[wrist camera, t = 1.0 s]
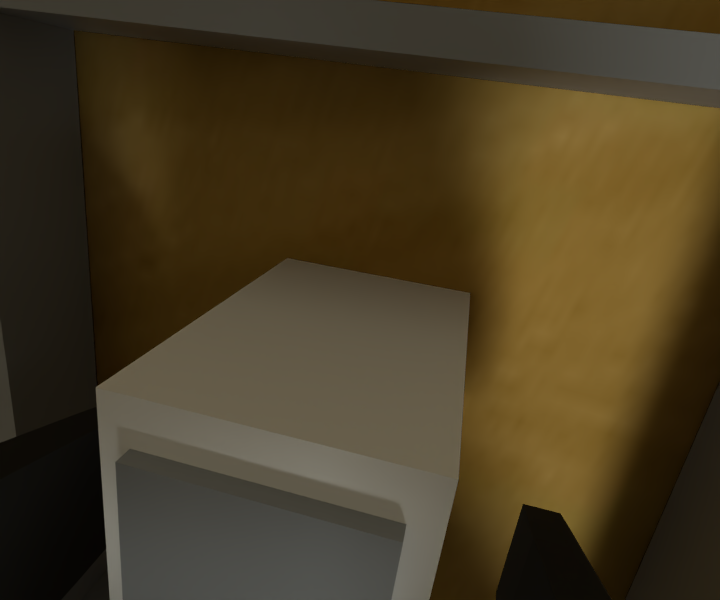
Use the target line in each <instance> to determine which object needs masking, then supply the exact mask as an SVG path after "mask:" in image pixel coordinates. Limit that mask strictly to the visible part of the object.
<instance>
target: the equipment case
mask: <svg viewBox="0 0 720 600" xmlns="http://www.w3.org/2000/svg"><path fill="white" fill-rule="evenodd" d="M74 30H76V31H85V32H93V33H101V34H110V35H118V36H126V37H135V38H143V39H151V40H159V41H168V42H176V43H184V44H193V45H201V46H209V47H218V48H226V49H234V50H242V51H251V52H259V53H267V54H276V55H284V56H292V57H300V58H309V59H317V60H325V61H334V62H342V63H350V64H359V65H367V66H375V67H383V68H392V69H400V70H408V71H417V72H425V73H433V74H442V75H450V76H458V77H466V78H475V79H483V80H491V81H500V82H508V83H516V84H525V85H533V86H541V87H549V88H558V89H566V90H574V91H583V92H591V93H599V94H607V95H616V96H624V97H632V98H641V99H649V100H657V101H666V102H674V103H682V104H690V105H699V106H707V107H715V108H720V34H713V33H703V32H693V31H683V30H672V29H662V28H652V27H642V26H632V25H621V24H611V23H601V22H591V21H581V20H570V19H560V18H550V17H540V16H530V15H520V14H509V13H499V12H489V11H479V10H469V9H458V8H448V7H438V6H428V5H418V4H407V3H397V2H387V1H377V0H0V443H1V442H4V441H6V440H9V439H11V438H14V437H17V436H19V435H22V434H25V433H27V432H30V431H33V430H35V429H38V428H41V427H43V426H46V425H48V424H51V423H54V422H56V421H59V420H62V419H64V418H67V417H70V416H72V415H75V414H78V413H80V412H83V411H86V410H89V409H91V408H94V407H97V402H96V387H97V380H96V365H95V350H94V335H93V319H92V304H91V289H90V274H89V258H88V243H87V228H86V213H85V198H84V182H83V167H82V152H81V137H80V121H79V106H78V91H77V76H76V61H75V45H74ZM62 600H110V597H109V582H108V567H107V552H106V549H105V550H104V551H103V553H102V554H101V555H100V556H99V557H98V558H97V560H96V561H95V562H94V563H93V564H92V565H91V567H90V568H89V569H88V570H87V571H86V572H85V573H84V575H83V576H82V577H81V578H80V579H79V580H78V582H77V583H76V584H75V585H74V586H73V587H72V588H71V589H70V591H69V592H68V593H67V594H66V595H65V596H64V597H63V599H62ZM625 600H720V382H719V385H718V387H717V389H716V392H715V394H714V396H713V399H712V401H711V403H710V405H709V408H708V410H707V412H706V415H705V417H704V419H703V422H702V424H701V426H700V429H699V431H698V433H697V435H696V438H695V440H694V442H693V445H692V447H691V449H690V452H689V454H688V456H687V459H686V461H685V463H684V465H683V468H682V470H681V472H680V475H679V477H678V479H677V482H676V484H675V486H674V489H673V491H672V493H671V495H670V498H669V500H668V502H667V505H666V507H665V509H664V512H663V514H662V516H661V518H660V521H659V523H658V525H657V528H656V530H655V532H654V535H653V537H652V539H651V542H650V544H649V546H648V548H647V551H646V553H645V555H644V558H643V560H642V562H641V565H640V567H639V569H638V572H637V574H636V576H635V578H634V581H633V583H632V585H631V588H630V590H629V592H628V595H627V597H626V599H625Z"/></svg>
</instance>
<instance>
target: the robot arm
mask: <svg viewBox="0 0 720 600" xmlns="http://www.w3.org/2000/svg"><path fill="white" fill-rule="evenodd" d="M105 549H106V537H105V522H104V507H103V492H102V477H101V462H100V447H99V432H98V417H97V407H94V408H91V409H89V410H86V411H83V412H80V413H78V414H75V415H72V416H70V417H67V418H64V419H62V420H59V421H56V422H54V423H51V424H48V425H46V426H43V427H41V428H38V429H35V430H33V431H30V432H27V433H25V434H22V435H19V436H17V437H14V438H11V439H9V440H6V441H4V442H1V443H0V600H62V599H63V597H64V596H65V595H66V594H67V593H68V592H69V591H70V589H71V588H72V587H73V586H74V585H75V584H76V583H77V582H78V580H79V579H80V578H81V577H82V576H83V575H84V573H85V572H86V571H87V570H88V569H89V568H90V567H91V565H92V564H93V563H94V562H95V561H96V560H97V558H98V557H99V556H100V555H101V554H102V553H103V551H104V550H105ZM496 600H612V599H611V597H610V595H609V594H608V592H607V591H606V589H605V587H604V586H603V584H602V582H601V581H600V579H599V577H598V576H597V574H596V572H595V571H594V569H593V567H592V566H591V564H590V562H589V561H588V559H587V557H586V556H585V554H584V552H583V550H582V549H581V547H580V545H579V544H578V542H577V540H576V539H575V537H574V535H573V533H572V532H571V530H570V528H569V527H568V525H567V523H566V522H565V520H564V519H563V517H562V515H561V514H560V513H556V512H553V511H549V510H545V509H541V508H537V507H533V506H529V505H525V504H523V506H522V509H521V513H520V516H519V519H518V523H517V526H516V529H515V532H514V536H513V539H512V542H511V545H510V549H509V552H508V555H507V558H506V562H505V565H504V568H503V572H502V575H501V578H500V581H499V585H498V588H497V591H496Z"/></svg>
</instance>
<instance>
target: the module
mask: <svg viewBox="0 0 720 600" xmlns="http://www.w3.org/2000/svg"><path fill="white" fill-rule="evenodd" d="M469 305H470V293H467V292H462V291H457V290H452V289H447V288H441V287H436V286H431V285H426V284H420V283H415V282H410V281H405V280H399V279H394V278H389V277H384V276H379V275H373V274H368V273H363V272H358V271H352V270H347V269H342V268H337V267H331V266H326V265H321V264H316V263H311V262H305V261H300V260H295V259H290V258H287V259H285V260H284V261H282V262H281V263H279V264H278V265H276V266H275V267H273V268H272V269H270V270H269V271H267V272H266V273H264V274H263V275H262V276H260V277H259V278H257V279H256V280H254V281H253V282H251V283H250V284H248V285H247V286H245V287H244V288H242V289H241V290H239V291H238V292H236V293H235V294H233V295H232V296H230V297H229V298H227V299H226V300H224V301H223V302H221V303H220V304H218V305H217V306H215V307H214V308H213V309H211V310H210V311H208V312H207V313H205V314H204V315H202V316H201V317H199V318H198V319H196V320H195V321H193V322H192V323H190V324H189V325H187V326H186V327H184V328H183V329H181V330H180V331H178V332H177V333H175V334H174V335H172V336H171V337H169V338H168V339H167V340H165V341H164V342H162V343H161V344H159V345H158V346H156V347H155V348H153V349H152V350H150V351H149V352H147V353H146V354H144V355H143V356H141V357H140V358H138V359H137V360H135V361H134V362H132V363H131V364H129V365H128V366H126V367H125V368H123V369H122V370H120V371H119V372H118V373H116V374H115V375H113V376H112V377H110V378H109V379H107V380H106V381H104V382H103V383H101V384H100V385H98V386H97V387H96V402H97V417H98V432H99V447H100V462H101V477H102V492H103V507H104V522H105V537H106V552H107V567H108V582H109V597H110V600H429V599H430V595H431V591H432V587H433V583H434V579H435V575H436V570H437V566H438V562H439V558H440V554H441V550H442V546H443V542H444V538H445V534H446V529H447V525H448V521H449V517H450V513H451V509H452V505H453V501H454V497H455V492H456V488H457V484H458V480H459V466H460V450H461V434H462V418H463V402H464V386H465V370H466V354H467V338H468V322H469Z"/></svg>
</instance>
